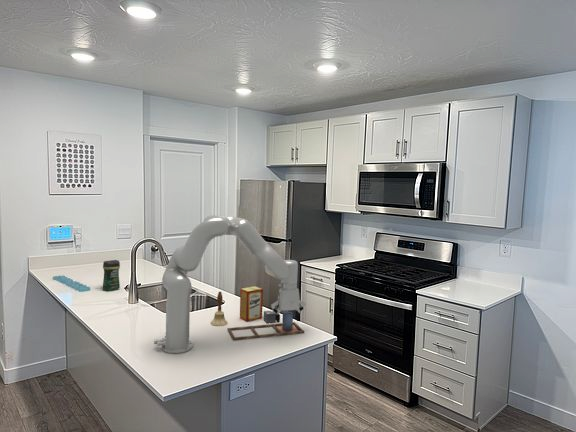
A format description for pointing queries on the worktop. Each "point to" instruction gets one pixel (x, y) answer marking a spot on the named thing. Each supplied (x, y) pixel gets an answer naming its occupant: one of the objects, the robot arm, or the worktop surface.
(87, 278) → the worktop surface
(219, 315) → the hand bell
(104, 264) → the coffee jar
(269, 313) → the die
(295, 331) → the board
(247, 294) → the baking soda box
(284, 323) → the blue cylinder
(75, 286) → the letter sign
